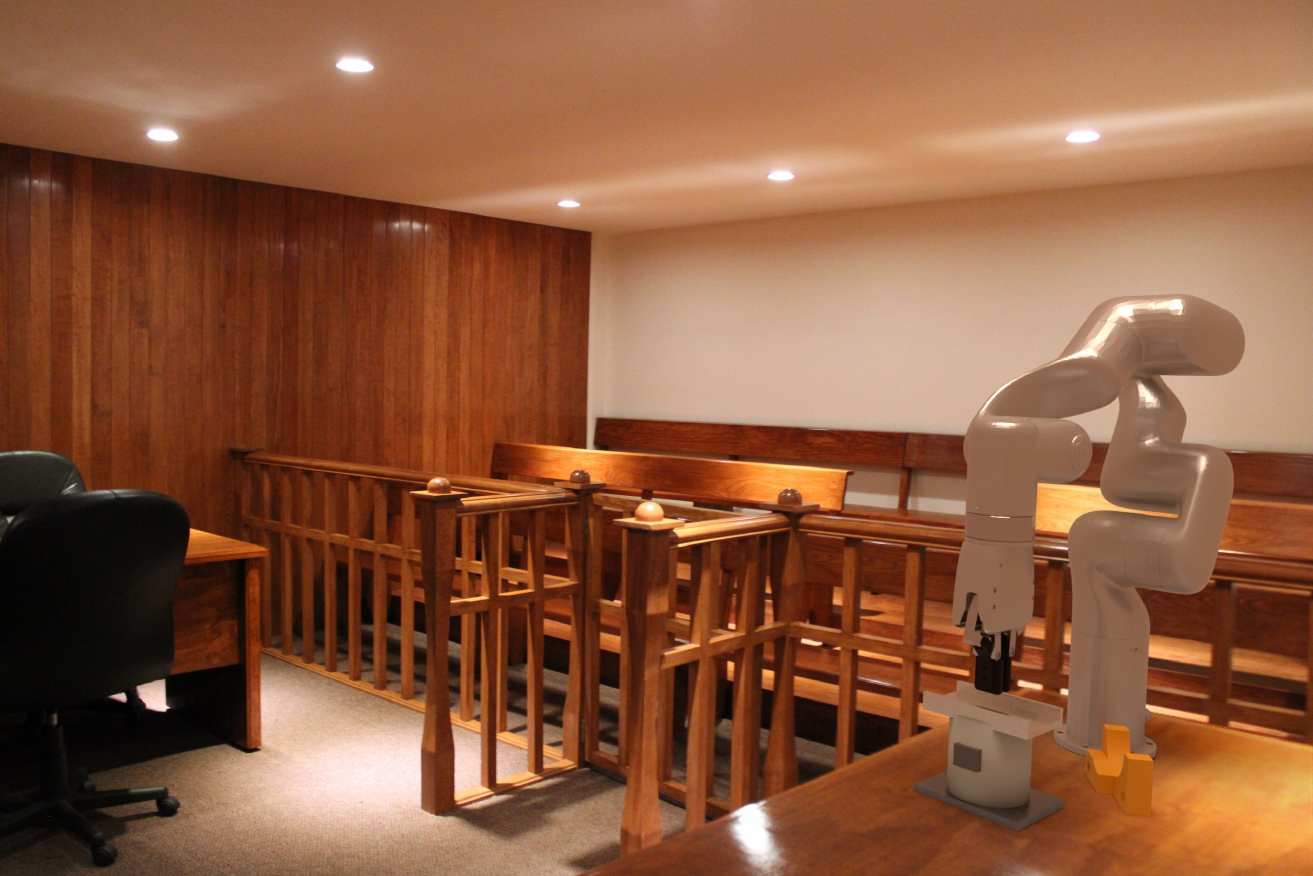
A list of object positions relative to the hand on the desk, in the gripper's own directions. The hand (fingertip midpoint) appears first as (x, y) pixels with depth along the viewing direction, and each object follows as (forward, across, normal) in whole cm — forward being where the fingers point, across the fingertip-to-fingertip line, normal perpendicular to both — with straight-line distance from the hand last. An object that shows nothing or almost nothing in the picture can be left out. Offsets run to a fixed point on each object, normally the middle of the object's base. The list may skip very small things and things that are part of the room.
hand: (992, 690), depth 115 cm
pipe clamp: (+13, -14, +8) cm, 21 cm away
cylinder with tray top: (+13, 0, 0) cm, 13 cm away
